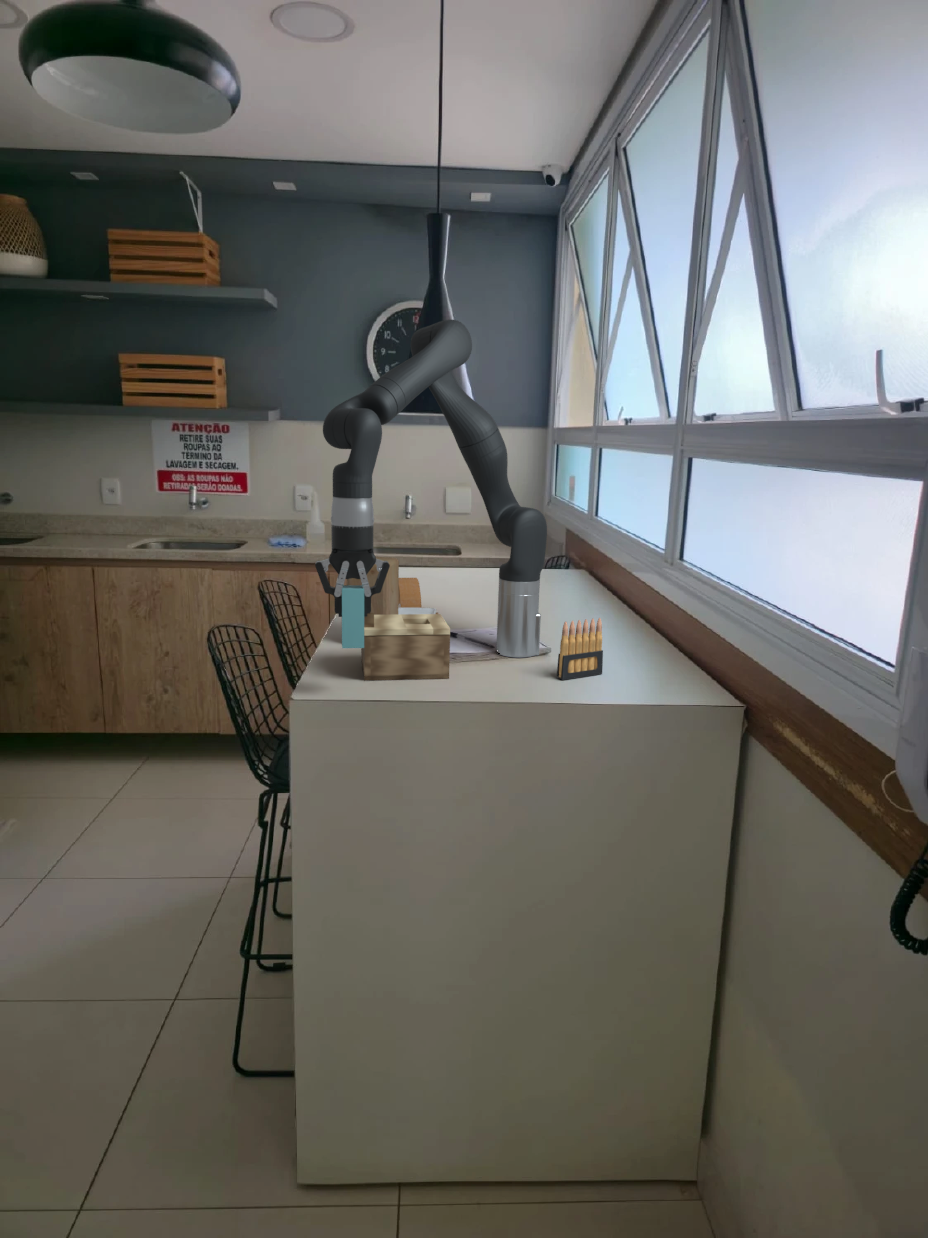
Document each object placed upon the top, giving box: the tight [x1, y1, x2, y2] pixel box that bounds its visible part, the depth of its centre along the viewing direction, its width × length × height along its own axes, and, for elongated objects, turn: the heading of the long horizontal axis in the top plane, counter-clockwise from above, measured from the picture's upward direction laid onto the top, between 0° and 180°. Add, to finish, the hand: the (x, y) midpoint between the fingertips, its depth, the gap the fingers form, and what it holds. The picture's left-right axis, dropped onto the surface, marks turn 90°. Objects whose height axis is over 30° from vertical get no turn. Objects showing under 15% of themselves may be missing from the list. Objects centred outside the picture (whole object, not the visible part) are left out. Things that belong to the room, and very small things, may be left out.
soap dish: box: [398, 607, 439, 614], centre depth 203 cm, size 12×10×5 cm
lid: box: [364, 603, 451, 636], centre depth 164 cm, size 17×14×4 cm
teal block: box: [341, 584, 364, 649], centre depth 147 cm, size 4×4×11 cm
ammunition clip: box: [556, 617, 604, 681], centre depth 164 cm, size 11×2×12 cm, turn 120°
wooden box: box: [360, 633, 451, 682], centre depth 165 cm, size 17×14×9 cm
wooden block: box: [346, 556, 400, 615], centre depth 186 cm, size 10×10×20 cm
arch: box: [398, 577, 423, 608], centre depth 222 cm, size 6×20×10 cm, turn 11°
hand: (352, 615), depth 147 cm, fingers closed on teal block, 4 cm apart
